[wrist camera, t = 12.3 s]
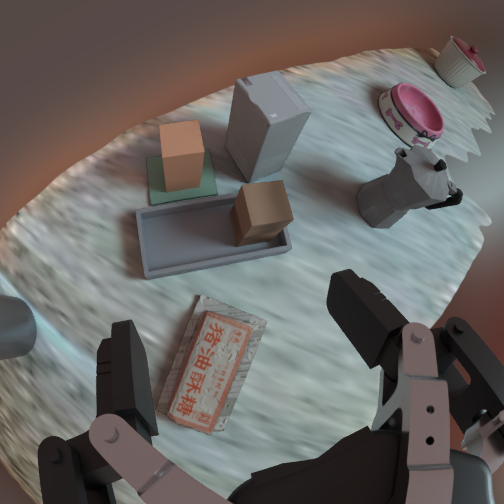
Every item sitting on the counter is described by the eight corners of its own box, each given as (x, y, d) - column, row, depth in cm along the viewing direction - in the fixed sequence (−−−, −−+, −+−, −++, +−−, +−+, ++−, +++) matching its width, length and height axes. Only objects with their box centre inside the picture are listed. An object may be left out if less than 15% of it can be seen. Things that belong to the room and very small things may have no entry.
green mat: (151, 205, 40) (151, 204, 39) (146, 159, 41) (146, 158, 41) (217, 194, 42) (217, 193, 42) (208, 150, 44) (208, 148, 43)
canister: (422, 62, 71) (453, 29, 51) (434, 57, 76) (461, 28, 56) (456, 99, 70) (491, 70, 50) (464, 90, 76) (494, 64, 56)
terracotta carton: (166, 192, 40) (162, 157, 31) (163, 163, 41) (159, 125, 32) (199, 187, 42) (204, 151, 32) (194, 159, 42) (198, 119, 33)
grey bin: (148, 279, 38) (144, 277, 35) (138, 217, 39) (135, 210, 36) (285, 253, 43) (292, 248, 40) (270, 196, 44) (276, 188, 41)
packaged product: (225, 444, 31) (151, 419, 30) (221, 430, 35) (155, 407, 34) (275, 320, 36) (201, 290, 35) (265, 320, 40) (200, 293, 39)
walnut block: (236, 247, 41) (252, 226, 31) (229, 214, 42) (242, 184, 32) (269, 241, 42) (293, 219, 33) (261, 209, 43) (282, 180, 33)
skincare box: (280, 171, 46) (320, 112, 31) (243, 186, 44) (271, 125, 29) (255, 132, 46) (283, 67, 31) (218, 144, 44) (235, 76, 29)
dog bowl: (387, 141, 54) (405, 125, 48) (369, 83, 58) (383, 67, 52) (440, 160, 58) (457, 148, 51) (420, 105, 62) (434, 92, 56)
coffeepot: (342, 213, 47) (410, 165, 29) (350, 170, 49) (409, 116, 32) (407, 246, 49) (480, 218, 31) (411, 205, 51) (475, 169, 34)
